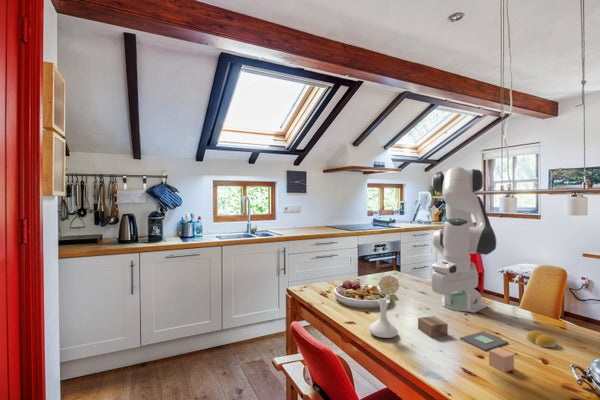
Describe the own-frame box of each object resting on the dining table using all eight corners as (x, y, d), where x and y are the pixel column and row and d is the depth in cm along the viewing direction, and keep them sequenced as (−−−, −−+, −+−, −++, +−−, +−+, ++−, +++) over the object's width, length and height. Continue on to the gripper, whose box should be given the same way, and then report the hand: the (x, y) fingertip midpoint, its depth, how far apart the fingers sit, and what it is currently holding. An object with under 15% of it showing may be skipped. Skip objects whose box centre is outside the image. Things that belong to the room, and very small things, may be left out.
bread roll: (547, 350, 113) (547, 339, 113) (522, 339, 121) (522, 329, 121) (561, 346, 115) (562, 336, 115) (536, 336, 124) (536, 326, 124)
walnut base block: (434, 327, 131) (434, 316, 131) (447, 336, 124) (447, 323, 123) (417, 329, 129) (418, 317, 129) (430, 338, 122) (430, 325, 121)
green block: (454, 303, 113) (454, 290, 112) (466, 308, 108) (466, 294, 108) (444, 305, 110) (444, 292, 110) (457, 310, 106) (457, 296, 106)
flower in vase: (363, 332, 125) (363, 272, 125) (380, 325, 132) (381, 268, 132) (389, 345, 115) (390, 279, 114) (407, 337, 122) (408, 275, 121)
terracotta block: (498, 361, 104) (498, 347, 104) (513, 369, 100) (514, 354, 100) (488, 365, 102) (489, 350, 102) (504, 373, 98) (504, 357, 98)
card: (483, 332, 126) (483, 330, 126) (508, 343, 117) (508, 341, 117) (460, 339, 120) (460, 337, 120) (484, 351, 111) (484, 348, 111)
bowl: (402, 303, 161) (402, 288, 161) (362, 315, 144) (363, 298, 144) (361, 288, 186) (361, 275, 186) (323, 297, 169) (323, 283, 169)
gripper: (467, 259, 116) (466, 295, 117) (428, 265, 107) (428, 304, 108) (483, 263, 110) (482, 301, 111) (444, 269, 102) (443, 310, 102)
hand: (455, 302), depth 109 cm, fingers closed on green block, 5 cm apart
